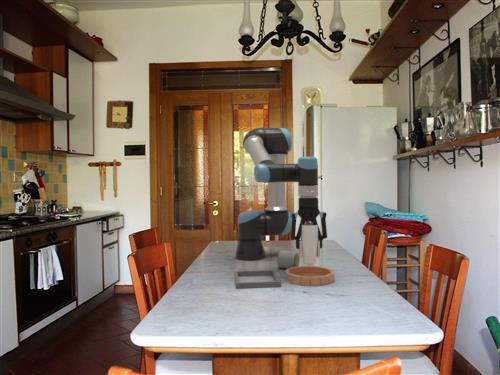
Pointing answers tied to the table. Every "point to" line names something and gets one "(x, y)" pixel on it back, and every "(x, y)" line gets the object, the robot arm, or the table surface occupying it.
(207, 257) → the table surface
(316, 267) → the bowl
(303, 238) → the drinking glass
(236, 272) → the tray
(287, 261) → the ceramic mug
